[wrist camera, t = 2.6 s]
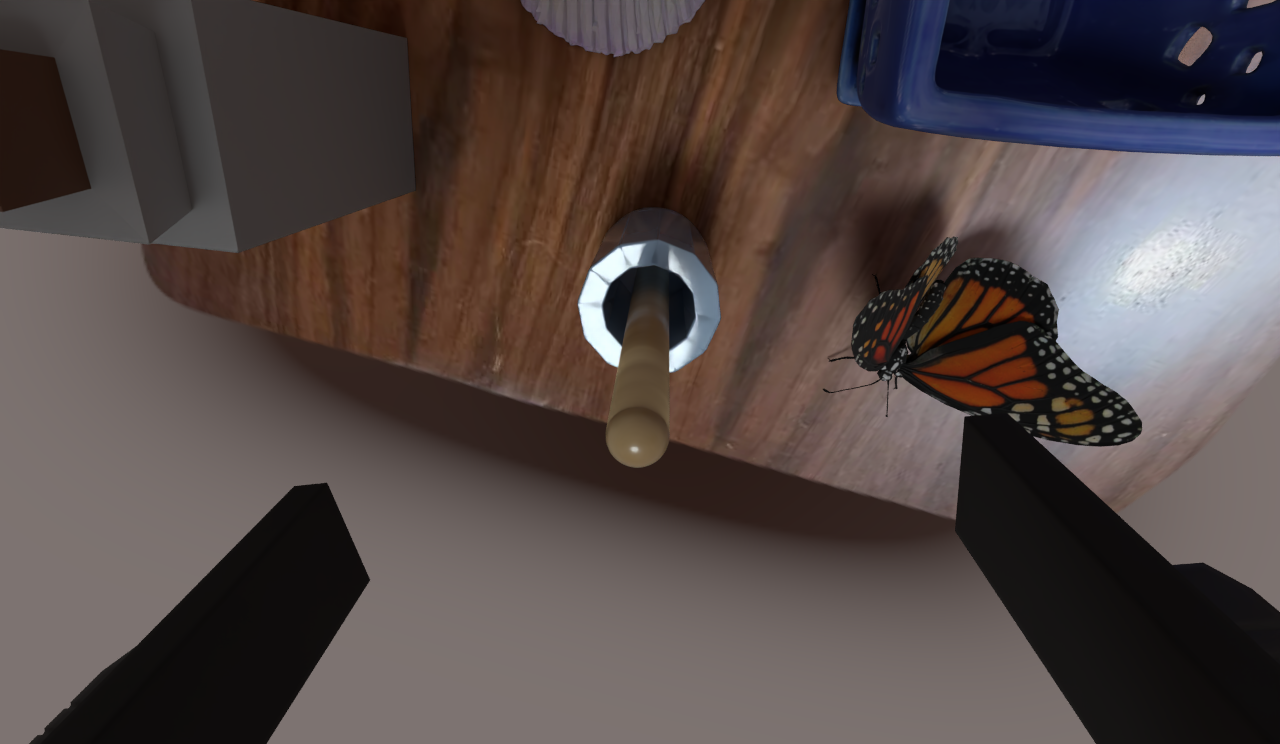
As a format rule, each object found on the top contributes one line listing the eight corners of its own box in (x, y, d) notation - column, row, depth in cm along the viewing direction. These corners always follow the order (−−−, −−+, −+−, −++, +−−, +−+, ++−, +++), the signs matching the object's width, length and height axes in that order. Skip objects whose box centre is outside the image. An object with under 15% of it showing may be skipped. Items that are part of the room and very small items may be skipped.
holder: (585, 290, 32) (560, 346, 24) (622, 189, 29) (607, 218, 22) (682, 327, 32) (686, 393, 25) (725, 231, 30) (743, 273, 23)
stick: (633, 274, 30) (592, 467, 14) (644, 245, 30) (615, 414, 14) (662, 285, 30) (654, 488, 14) (673, 257, 30) (680, 437, 14)
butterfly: (749, 351, 33) (780, 448, 24) (841, 183, 29) (922, 220, 20) (937, 430, 34) (1034, 549, 25) (1049, 280, 30) (1212, 356, 21)
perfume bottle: (415, 190, 30) (107, 298, 13) (282, 175, 30) (-189, 266, 13) (407, 38, 27) (2, -60, 11) (259, 21, 27) (-372, -102, 11)
